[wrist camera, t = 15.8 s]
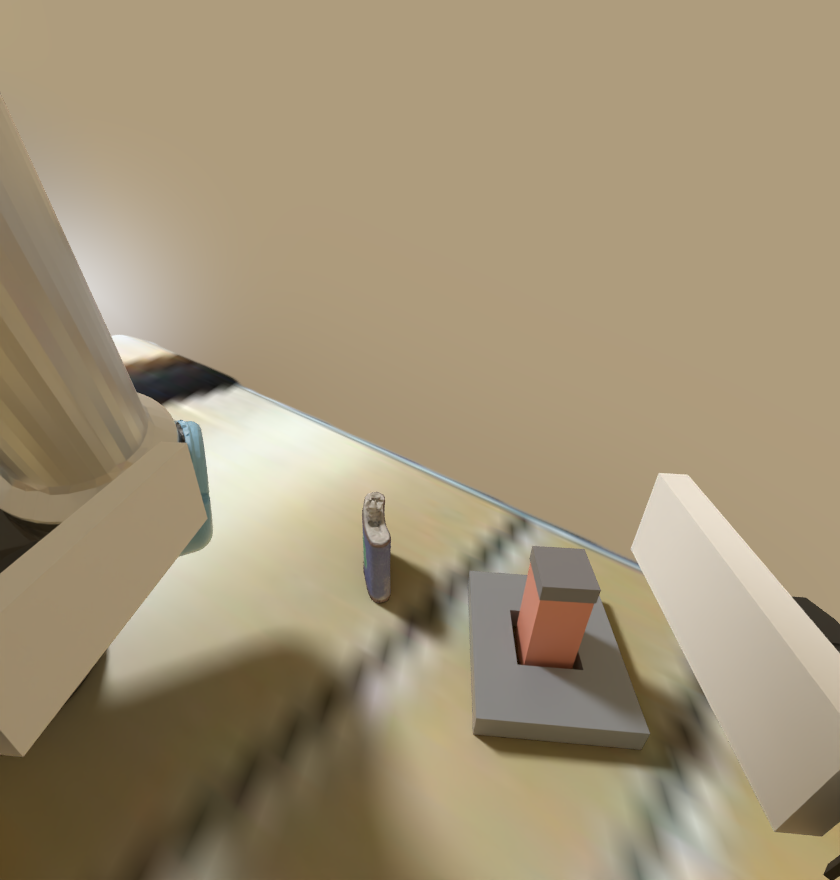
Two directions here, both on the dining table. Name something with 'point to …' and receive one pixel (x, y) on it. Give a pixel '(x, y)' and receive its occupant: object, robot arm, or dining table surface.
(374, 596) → the flask
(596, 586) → the plug
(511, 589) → the socket plate
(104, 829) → the dining table surface
